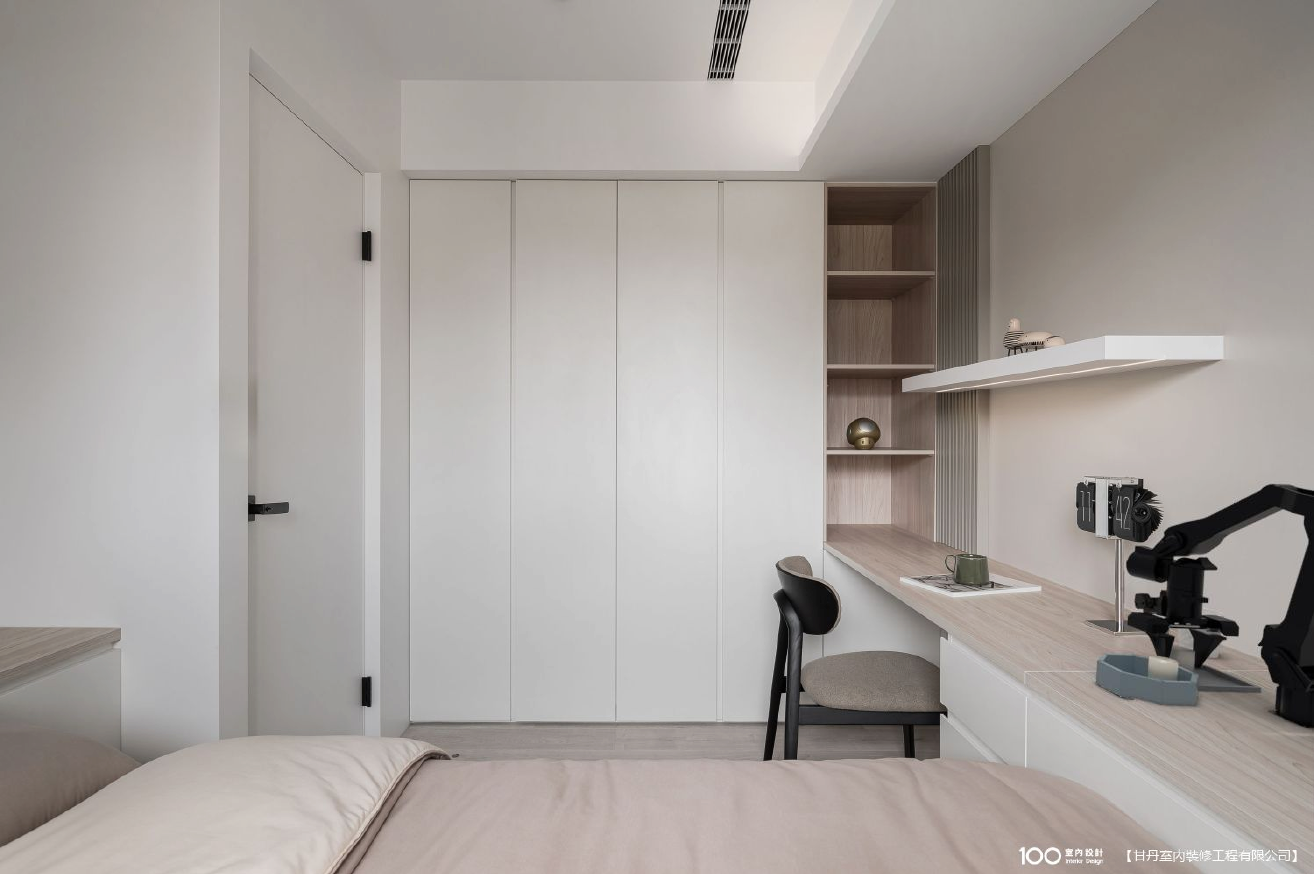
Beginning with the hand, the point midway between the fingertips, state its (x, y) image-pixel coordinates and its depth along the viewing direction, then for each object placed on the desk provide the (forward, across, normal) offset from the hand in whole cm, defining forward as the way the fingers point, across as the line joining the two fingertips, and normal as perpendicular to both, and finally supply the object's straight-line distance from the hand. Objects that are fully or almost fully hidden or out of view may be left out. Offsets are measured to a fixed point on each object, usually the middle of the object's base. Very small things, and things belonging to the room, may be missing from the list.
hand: (1179, 666), depth 132 cm
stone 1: (+1, +10, +8) cm, 13 cm away
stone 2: (+1, 0, 0) cm, 1 cm away
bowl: (+2, +14, +8) cm, 16 cm away
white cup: (+2, -16, -14) cm, 22 cm away
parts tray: (+2, -2, +2) cm, 4 cm away
